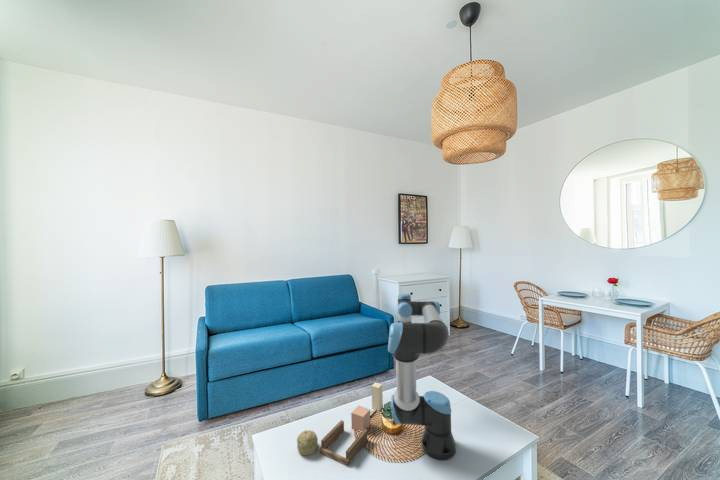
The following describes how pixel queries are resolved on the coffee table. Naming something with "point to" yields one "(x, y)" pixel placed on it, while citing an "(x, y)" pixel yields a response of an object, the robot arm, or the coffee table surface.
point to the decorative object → (307, 442)
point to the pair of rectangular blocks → (363, 414)
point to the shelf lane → (350, 452)
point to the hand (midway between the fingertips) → (405, 357)
